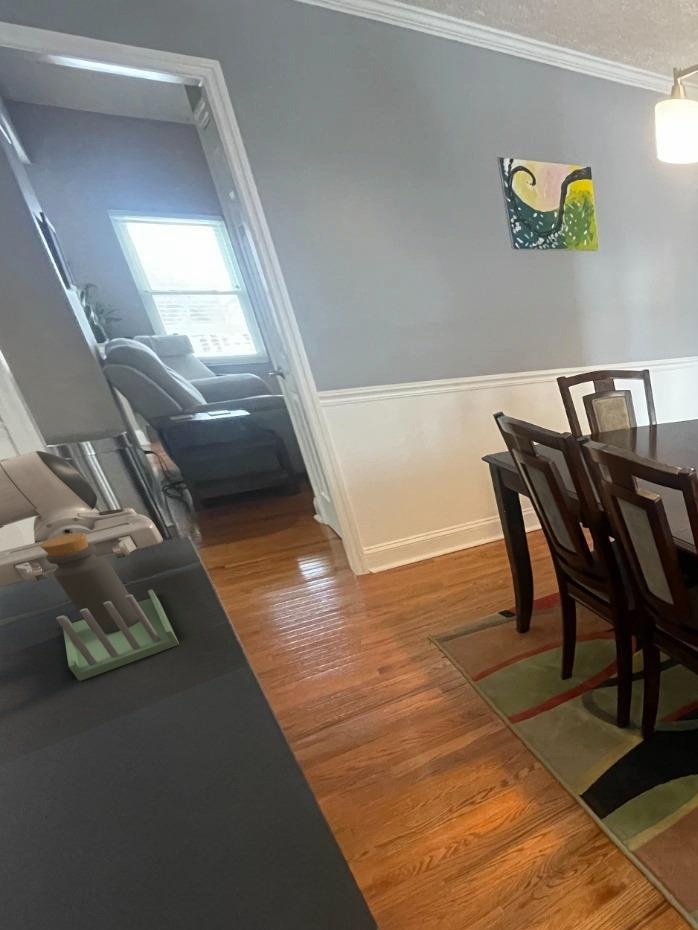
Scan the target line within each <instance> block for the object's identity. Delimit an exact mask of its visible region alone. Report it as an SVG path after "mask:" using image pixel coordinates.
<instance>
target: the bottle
mask: <svg viewBox="0 0 698 930" xmlns="http://www.w3.org/2000/svg"><path fill="white" fill-rule="evenodd" d="M40 547H41V548H42V549H44V550H45V551H46V552H47V553H48V555H47V556H46V559H47V560H48V562H49V563H51V564H57V565H58V568H57V569H56V570H55V571H54V573H52V574H53V577H54V578H55V580H56V581H57V582H58V584H59V585H60V587H61V588H62V589H63V591H64V592H65V594H66V595H67V597H68V599H69V600H70V602H71V603H72V604H73V605H74V607H75V608H76V610H77V612H78V613H79V615H81V617H82V619H83V620H85V618H84V617H83V616H82V614H81V613H80V610H82V609H85V608H87V609H88V610H89V612H90V613H91V615H92V616H93V618H94V619H95V621H96V622H97V623H98V625H99V626H100V628H101V629H102V631H103V632H104V634H107V633H112V632H116V631H119V630H120V629H119V627H118V626H117V624H116V623H115V621H114V620H113V618H112V617H111V615H110V614H109V612H108V611H107V609H106V608H105V606H104V605H103V603H104V602H107V601H111V603H112V604H113V606H114V607H115V609H116V610H117V612H118V613H119V615H120V616H121V618H122V619H123V621H124V623H125V624H126V626H127V627H130V626H132V625H134V624H135V623H137V622H138V621H140V620H139V618H138V617H137V615H136V614H135V612H134V611H133V609H132V608H131V606H130V604H129V603H128V601H127V600H126V598H125V596H126V595H130V593H129V592H128V590H127V589H126V587H125V585H124V584H123V582H122V580H121V578H119V576H118V574H117V573H116V571H115V569H114V568H113V567H112V565H111V564H110V562H109V561H108V558H103V557H99V556H95V555H94V554H93V553H95V552H96V547H95V546H94V545H93V544H91V543H88V542H87V539H86V536H85V534H84V533H74V534H67V535H63V536H59V537H56V538H52V539H50V540H47V541H45V542H43V543H42V544H41V545H40ZM85 621H86V620H85ZM86 623H87V621H86ZM87 624H88V623H87ZM88 626H89V624H88ZM89 627H90V626H89ZM90 628H91V627H90ZM91 630H92V629H91ZM92 631H93V630H92Z"/></svg>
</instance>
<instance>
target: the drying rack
mask: <svg viewBox="0 0 698 930" xmlns="http://www.w3.org/2000/svg"><path fill="white" fill-rule="evenodd" d="M147 593H148V595H149V597H150V598H147V599H144V600H140V601H137V600H136V598H135V597H134V595H133V594H131V593H129V595H126V596H125V598H126V600H127V601H128V603H129V604H130V606H131V608H132V609H133V611H134V612H135V614H136V615H137V617H138V618H139V620H140V621H138V622H137V623H135V624H134V625H132V626H130V627H127V626H126V624H125V623H124V621H123V619H122V618H121V616H120V615H119V613H118V612H117V610H116V609H115V607H114V606H113V604H112V603H111V601H107V602H104V603H103V605H104V606H105V608H106V609H107V611H108V612H109V614H110V615H111V617H112V618H113V620H114V621H115V623H116V624H117V626H118V627H119V629H120V630H119V631H116V632H112V633H107V634H104V632H103V631H102V629H101V628H100V626H99V625H98V623H97V622H96V621H95V619H94V618H93V616H92V615H91V613H90V612H89V610H88V609H87V608H85V609H82V610H80V613H81V614H82V616H83V617H84V618H85V620H86V621H87V623H88V624H89V626H90V627H91V628H90V627H89V626H88V624H87V623H86V621H85V620H84V618H83V617H82V616H81V617H82V618H83V619H81V620H78V621H74V622H71V620H70V619H69V618H68V616H67V615H59V616H57V617H56V621H57V622H58V624H59V625H60V626H61V627H62V631H63V637H64V642H65V643H64V644H65V650H66V651H65V652H66V656H67V664H68V668H69V669H70V671H71V672H72V673H73V675H74V676H75V678H76V679H77V680H78V681H79V682H81V681H84V680H86V679H89V678H92V677H95V676H98V675H101V674H104V673H106V672H109V671H111V670H112V671H113V670H114V669H117V668H119V667H122V666H125V665H128V664H130V663H134V662H136V661H139V660H142V659H144V658H147V657H149V656H152V655H155V654H158V653H161V652H163V651H166V650H169V649H171V648H174V647H177V646H180V643H179V641H178V639H177V636H176V634H175V632H174V629H173V627H172V625H171V623H170V621H169V619H168V616H167V615H166V612H165V610H164V608H163V606H162V604H161V601H160V599H159V598H158V596H157V595H156V593H155V591H154V590H153V589H148V590H147ZM80 613H79V614H80ZM81 614H80V615H81ZM91 629H92V630H93V631H92V630H91Z"/></svg>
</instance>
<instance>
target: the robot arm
mask: <svg viewBox="0 0 698 930" xmlns="http://www.w3.org/2000/svg"><path fill="white" fill-rule="evenodd" d="M97 501H98V496H97V493H96V492H95V489H94V488H93V487H92V484H91V483H90V482H89V481H88V479H87V478H86V477H85V475H84V474H83V473H82V472H81V471H80V470H79V469H78V468H77V467H76V466H75V465H74V464H73V463H71V462H70V461H69V460H68V459H66V458H65V457H61V456H59V455H56V454H53V453H49V452H46V451H41V450H36V451H31V452H27V453H24V454H19V455H16V456H12V457H9V458H3V459H0V529H2V528H4V527H5V526H8V525H12V524H15V523H18V522H21V521H24V520H28V519H30V518H34V521H33V537H34V539H33V540H34V543H29V544H26V545H25V544H24V545H21V546H18V547H13V548H10V549H6V550H2V551H0V588H4V587H8V586H12V585H14V584H19V583H21V582H25V581H29V580H31V581H32V582H34V583H35V582H38V581H41V580H45V579H48V575H51V574H53V573H54V571H55V570H56V569H57V568H58V565H57V564H51V563H49V562H48V560H47V559H46V556H47V555H48V553H47V552H46V551H45V550H44V549H42V548H41V547H40V545H41V544H42V543H43V542H45V541H47V540H50V539H52V538H56V537H59V536H63V535H67V534H74V533H84V534H85V536H86V539H87V542H88V543H91V544H93V545H94V546H95V547H96V552H95V553H93V554H94V555H95V556H99V557H103V558H106V559H109V558H113V557H116V558H117V559H121V558H124V557H125V558H126V557H128V556H130V553H132V552H134V551H138V550H142V549H145V548H149V547H153V546H157V545H159V544H161V543H162V542H164V538H163V537H162V535H161V533H160V531H159V529H158V527H157V526H156V524H155V523H154V522H153V521H152V520H151V519H150V518H149V517H147V516H146V515H144V514H141V513H140V514H139V513H137V512H136V510H135V509H134V508H131V507H127V508H118V509H111V510H104V511H100V510H98V509H97V508H96V506H97V503H98V502H97Z"/></svg>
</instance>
